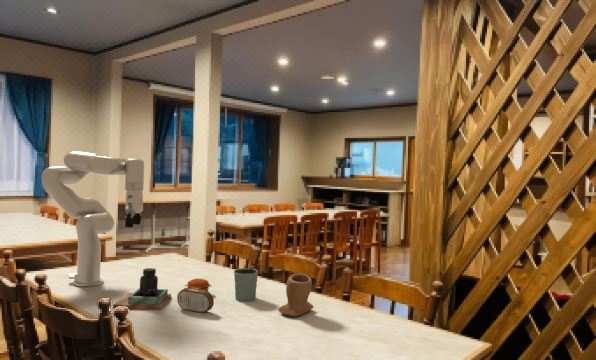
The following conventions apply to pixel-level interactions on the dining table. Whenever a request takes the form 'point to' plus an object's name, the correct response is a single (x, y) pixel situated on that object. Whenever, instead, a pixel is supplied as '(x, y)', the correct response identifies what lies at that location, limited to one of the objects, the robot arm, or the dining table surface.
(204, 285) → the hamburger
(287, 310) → the stone cup
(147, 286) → the supplement bottle
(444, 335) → the dining table surface
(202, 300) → the tin
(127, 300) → the socket board
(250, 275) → the grey cup
